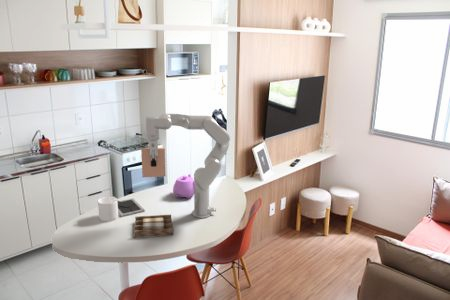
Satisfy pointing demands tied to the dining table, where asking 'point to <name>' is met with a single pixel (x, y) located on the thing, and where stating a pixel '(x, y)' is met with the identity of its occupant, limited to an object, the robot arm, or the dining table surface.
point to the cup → (108, 208)
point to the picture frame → (129, 207)
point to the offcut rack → (153, 232)
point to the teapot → (184, 187)
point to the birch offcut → (153, 220)
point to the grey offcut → (153, 226)
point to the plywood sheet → (146, 163)
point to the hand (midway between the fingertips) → (153, 165)
